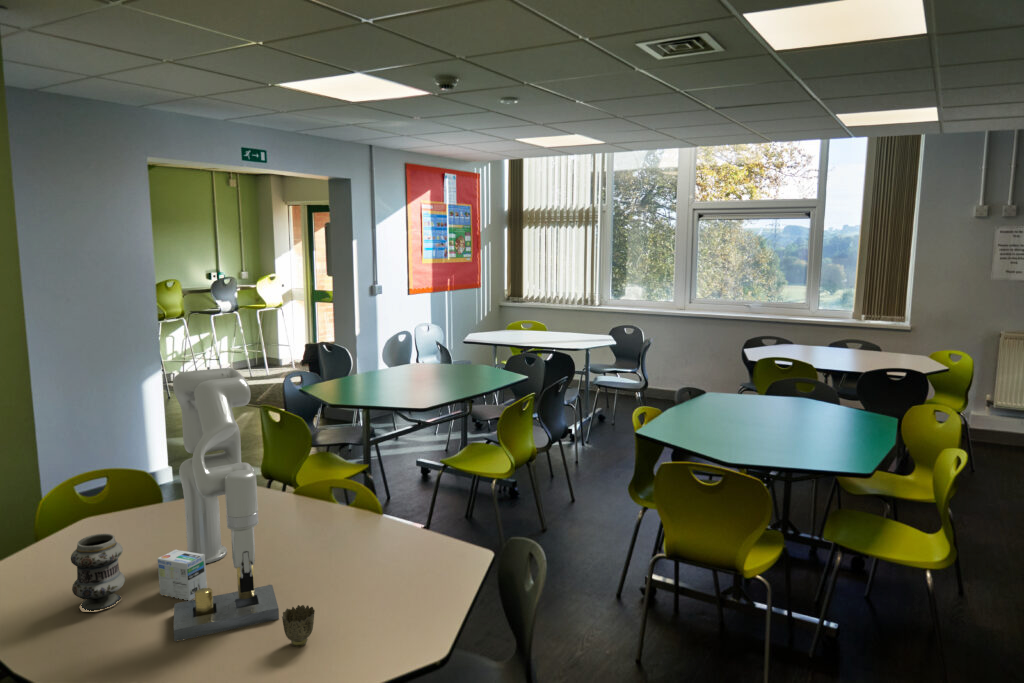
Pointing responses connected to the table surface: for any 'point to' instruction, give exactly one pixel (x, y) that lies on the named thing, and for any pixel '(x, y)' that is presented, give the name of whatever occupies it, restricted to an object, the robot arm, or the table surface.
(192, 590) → the light bulb box
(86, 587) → the apothecary jar
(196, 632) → the jig
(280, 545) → the table surface
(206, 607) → the seated bushing
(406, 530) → the table surface
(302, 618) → the cup
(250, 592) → the brass cylinder
